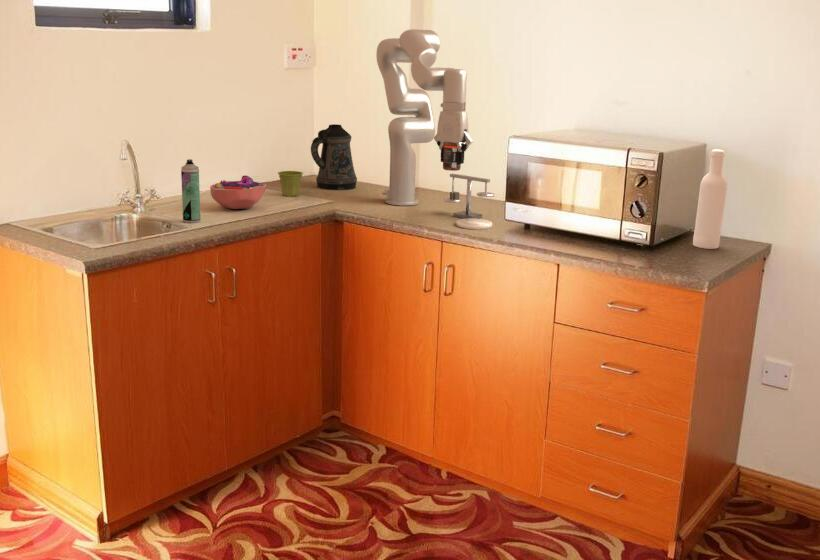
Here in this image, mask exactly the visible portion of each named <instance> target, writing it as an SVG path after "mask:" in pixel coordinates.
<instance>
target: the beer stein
mask: <svg viewBox="0 0 820 560" xmlns="http://www.w3.org/2000/svg"><path fill="white" fill-rule="evenodd" d="M351 141H352V135H351V134H350V133H349V132H348V131H347V130H345V129H344V128H343V126H342V124H334V123H333V124H329V125H328V127H327V128H325V129H321V130H319V131H318V132H317V137H314V138H313V139H312V141H311V142H312V143H311V145H310V153H311V157H312V160H313V161H314V162H315V165H317V166H318V167H319V168H318V173H317V176H316V178H315V181H316V185H317V188H319V189H322V190H328V191H349V190H353V189H356V186H357V182H358V177H357V174H356V172H355V167H354V163H353V156H352V149H351ZM321 144H322V147H321V151H320V152H321V153H320V155H319V147H320V145H321Z"/></svg>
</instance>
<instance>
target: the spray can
mask: <svg viewBox="0 0 820 560" xmlns="http://www.w3.org/2000/svg"><path fill="white" fill-rule="evenodd" d="M193 161H194V160H193V159H191V158H190V159H186V163H185V165H183V166H181V168H180V169H181V170H180V172H181V174H180V176H181V178H180V179H181V197H182V198H181V201H182V204H181V205H182V222H183V223H185V224H195V223H200V222H201V193H200V192H201V191H200V170H199V166H197V165H196V164H195V163H194V162H193Z"/></svg>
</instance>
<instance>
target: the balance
mask: <svg viewBox="0 0 820 560" xmlns="http://www.w3.org/2000/svg"><path fill="white" fill-rule="evenodd" d="M449 178H452V179H451V180H452V181H451V183H452V185H451V186H452V187H451V191H450V192H449V197H445V198H443V202H446V203H453V204H454V203H456V204H457V203H461V202H462V199H461V198H460V192H459V191H454V190H455V189H454V188H455V178H456V179H462V180H466V195H465V196H466V197H465V198H466V199H465V210H461V211H456V212H453V216H452V217H455V218H460V219H467V218H474V219H482V218H483V214H482V213H479V212H478V213H477V212H472V211H471V205H472V204H471V203H472V185H473V181H475V182H481V183H485V185H484V191H481V192H479V191H478V192H477V193H476V196H477V197H482V198H492V197H495V193H493V192H488V190H487V188H488V184H489V183H491V179H489V178H484V177H477V176H471V175H464V174H458V173H450V174H449Z"/></svg>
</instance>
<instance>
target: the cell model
mask: <svg viewBox="0 0 820 560" xmlns="http://www.w3.org/2000/svg"><path fill="white" fill-rule="evenodd" d="M209 188H210V189H209V190H210V196H211V197H212V199H213V200H214V201H215V202H216V203H217V204H219V205H220V206H222V207H223V208H226V209H231V210H245V209H251V208H253V206H255V205H256V204H258V203H259V202H260V200H261V199H262V198H263V196H264V195H265V194H264V193H265V191H266V189H267V184H266V183H263V182H258V181H254V179H253V178H252V176H251V177H250V176H249V175H242V176H241V179H240V180H228V181H227V180H225V179H224V180H220V182H217V183H215V184H212V185H210V187H209Z"/></svg>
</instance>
